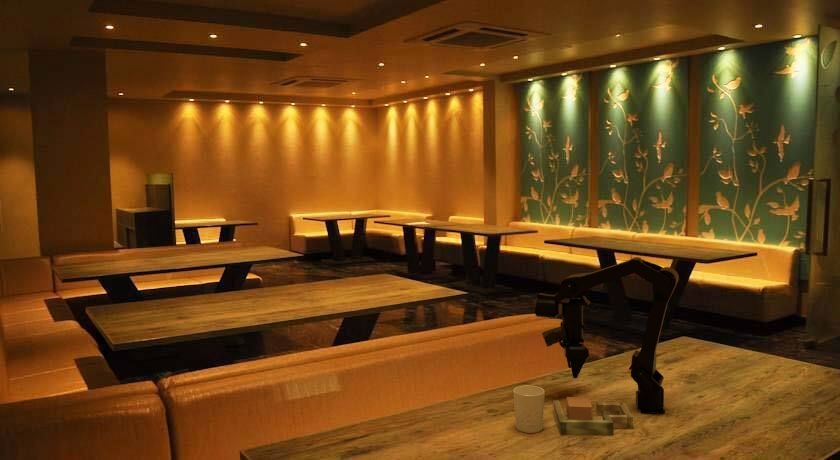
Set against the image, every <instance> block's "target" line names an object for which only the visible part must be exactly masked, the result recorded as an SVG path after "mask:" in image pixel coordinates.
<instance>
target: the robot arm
mask: <svg viewBox="0 0 840 460" xmlns="http://www.w3.org/2000/svg"><path fill="white" fill-rule="evenodd" d="M634 274H635V275H636V276H638V277H640V278H642V280H644V281H647V282H648V283H651V284H652V304H651V307H650V312H649V316H648V320H647V324H646V328H645V332H644V336H643V341H642V345H641V349H640V350H637V349H635V350H634V352H633V354H632V355H631V364H630V366H629V367H628V370H629V371H630V377H631V379H632V380H633V381H634V383H636V384H637V390H636V391H635V407H637V409H638V410H639V412H640V413H641V414H666V410H665V402H664V401H665V400H664V399H665V388H663V386H662V383H663V382H664V380H665V378H664V376H663V375H662V373H660V371H658V369H657V348H658V344H659V341H660V336H661V331H662V327H663V324H664V319H665V315H666V311H667V308H668V303H669V301H670V299H671V297H672V295H673V293H674V291H675V289H676V286H677V284H678V282H679V278H680V276H679V274H678V271H676V269H674V268H673V267H669V266H665V267H663V266H660V265H658V264H656V263H653V262H650V261H647V260H644V259H643V258H641V257H639V256H636V257H632V258H631V259H628V260H624V261H622V262H619V263H615V264H613V265H610V266H607V267H604V268H602V269H599V270H595V271H591V272H582V273H581V272H580V273H576V274H570V275H569V276H567V277H566V278H564V279H563V280H562V281H561V283H560V287H559V288H560V289H559V290H558V292H556V293H555V294H546V293H538V294H537V299H536V301H535V306H534V313H535V316H536V317H538V318H549V319H550V318H551V319H557V318H558V316H561V315H562V317H561V318H562V319H561V321H560V325H559V326H558V327H554V328H551V329H549V330H548V329H547V330H545V331H543V332H542V333H541V335H542V337H543V341H544V343H545V346H546V347H551V346H552V345H555V344H557V343H558V344H559V346H560V347H561V348H562V349H563V352H564V353H563V354H564V357H565V359H566V362H567V367H568V369H571V374H572V378H573V379H577V378H578V377H579V375H580V372H581V370H582V368H583V366H584V364H585V363H586V360H588V358H589V354H590V353H589V352H590V351H589V348H588V347H587V345H586V344H584V343H585V338H584V329H585V323H584V322H583V321H584V307H588V306H589V305H590V304H591V301H590V300H589V299H588V298H587V297H586V296H585V295H583V296H581V298H580V297H579V298H577V296H579V295H581V294H583V293H585V292H587V291H588V290H590V289H592V288H594V287H596V286H599V285H602V284H606V283H609V282H612V281H614V280H617V279H620V278H624V277H626V276H630V275H634ZM566 298H569V299H568V300H566Z"/></svg>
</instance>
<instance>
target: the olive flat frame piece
mask: <svg viewBox="0 0 840 460" xmlns="http://www.w3.org/2000/svg"><path fill="white" fill-rule="evenodd" d="M552 404H553V405H552V406H553V407H552V408H553V414H554V418H555V421H556V424H557V428H558V430H559V433H560V435H575V436H576V435H579V436H580V435H581V436H582V435H584V436H585V435H587V436H588V435H589V436H591V435H594V436H598V435H599V436H614V429H625V430H626V429H629V430H633V429H634V416H633V415H632V413H631V412H630V410H629V408H628V407H627V405H626V403H625V402H603V400H595V412H596V414H597V416H602V419H600V420H599V419H592V420H568V419H566V417H565V415H564V412H563V409H562V406H561V403H560V401H559V400H553V403H552Z"/></svg>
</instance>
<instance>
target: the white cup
mask: <svg viewBox="0 0 840 460" xmlns="http://www.w3.org/2000/svg"><path fill="white" fill-rule="evenodd" d="M512 390H513V391H512V392H513V408H514V417H515V428H516V429H517V431H519V432H522V433H527V434H536V433H540V432H541V431H542V430H543V421H544V410H545V394H546V393H545V389H544V388H542V387H540V386H537V385H519V386H516V387H515V388H513V389H512Z"/></svg>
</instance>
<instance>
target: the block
mask: <svg viewBox="0 0 840 460" xmlns="http://www.w3.org/2000/svg"><path fill="white" fill-rule="evenodd" d="M566 413H567V418H568V419H567V420H593V405H592V402H591V399H590V397H578V396H576V397H571V396H567V397H566Z"/></svg>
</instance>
